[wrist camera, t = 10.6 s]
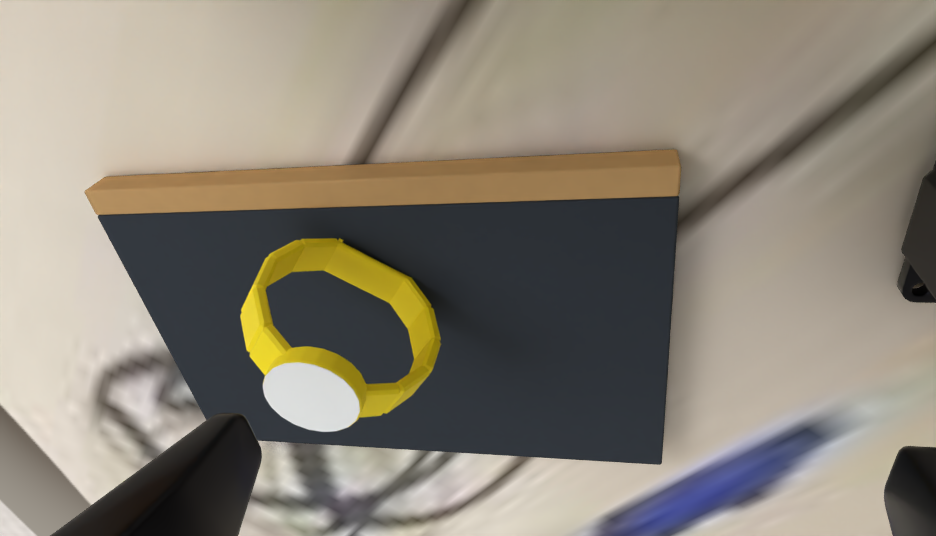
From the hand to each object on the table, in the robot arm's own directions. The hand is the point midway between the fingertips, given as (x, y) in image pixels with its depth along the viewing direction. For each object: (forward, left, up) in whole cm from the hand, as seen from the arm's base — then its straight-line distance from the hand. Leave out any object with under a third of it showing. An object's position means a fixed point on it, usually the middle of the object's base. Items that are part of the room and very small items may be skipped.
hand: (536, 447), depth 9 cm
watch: (+7, +4, -11) cm, 14 cm away
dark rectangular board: (+7, +7, -12) cm, 16 cm away
